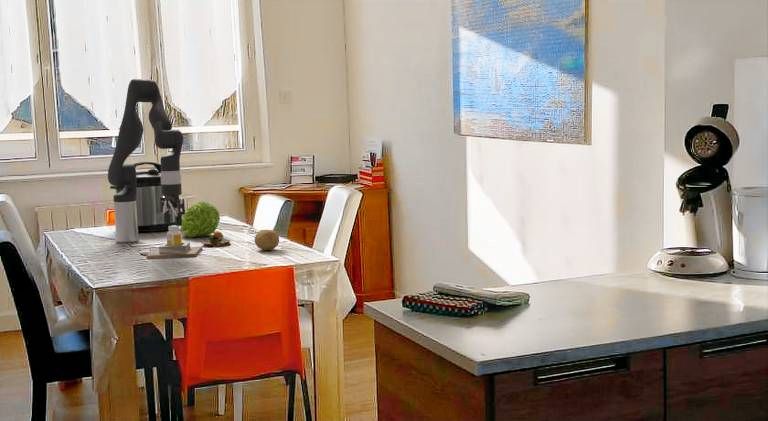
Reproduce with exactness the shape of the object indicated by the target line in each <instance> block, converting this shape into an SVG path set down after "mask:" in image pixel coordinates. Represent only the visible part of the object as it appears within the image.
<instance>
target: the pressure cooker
mask: <svg viewBox="0 0 768 421" xmlns="http://www.w3.org/2000/svg"><path fill="white" fill-rule="evenodd" d="M132 164H133V165H134V166H135V169H136V168H137V167H138V166H142V165H151V166H153V167H154V168H150V169H149V170H145V171H136V188H137V194H136V205H137V221H138V232H161V231H167V230H168V231H169V229H168V226H173V225H176V215H175V213H174V212H173V211H172V210H171V211H170V224H165V223H164V214H163V212H160V197H165V196H163V195H162V194H161V163H157V162H153V161H143V162H142V161H141V162H136V163H132ZM124 187H125V185H118V186H115V185H110V186H109V188H110V189H111V190H115V194H117V193H119V192H121V191H122V190H123V189H124ZM163 207H164V206H163Z"/></svg>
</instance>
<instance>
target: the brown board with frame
mask: <svg viewBox="0 0 768 421" xmlns="http://www.w3.org/2000/svg"><path fill="white" fill-rule="evenodd" d="M181 243H182V245H180V246H167V242H163V243H162V244H161V245H159V246H158V247H156V248H154V249H153V250H152V251H151V252H149V253H148V254H146V259H147V260H151V259H152V260H153V259H172V258H173V259H174V258H175V259H177V258H196V257H197V256H198V255H199V253H201V251H202V250H203V246H191V242H190V241H188V242H187V241H183V242H182V241H181Z"/></svg>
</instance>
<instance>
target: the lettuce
mask: <svg viewBox="0 0 768 421" xmlns="http://www.w3.org/2000/svg"><path fill="white" fill-rule="evenodd" d="M220 221H221V218H220V212H219V210H218V209H217V207H216V206H215V205H213V204H211V203H208V202H205V201H199V202H196V203H195V204H193V205H191V206H190V207H188V208H187V209H185V214H183V215H182V225H181V226H180V230H181V231H180V232H181V233H182V234H183V235H184V236H186V237H189V238H196V237H205V236H210V235H213V234H214V232H215V231H216V230H217V229H218V226H219V223H220Z"/></svg>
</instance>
